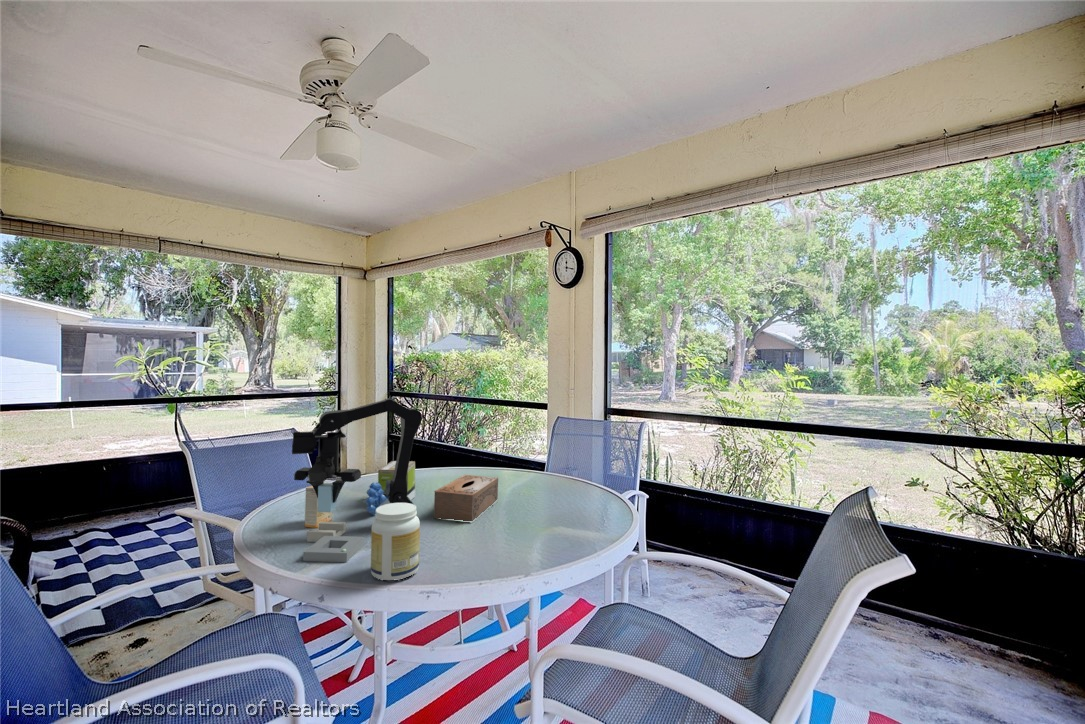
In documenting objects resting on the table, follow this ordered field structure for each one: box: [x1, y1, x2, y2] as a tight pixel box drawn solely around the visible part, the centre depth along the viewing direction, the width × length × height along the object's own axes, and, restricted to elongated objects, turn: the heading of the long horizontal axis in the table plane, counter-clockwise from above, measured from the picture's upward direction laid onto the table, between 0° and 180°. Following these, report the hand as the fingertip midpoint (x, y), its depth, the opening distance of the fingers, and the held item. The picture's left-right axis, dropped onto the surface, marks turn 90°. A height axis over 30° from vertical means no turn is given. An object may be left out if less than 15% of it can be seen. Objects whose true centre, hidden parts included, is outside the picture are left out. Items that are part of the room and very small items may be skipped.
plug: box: [318, 482, 338, 513], centre depth 147 cm, size 4×4×8 cm
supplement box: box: [304, 481, 333, 529], centre depth 159 cm, size 8×5×13 cm, turn 168°
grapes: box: [365, 482, 387, 516], centre depth 168 cm, size 12×7×12 cm, turn 178°
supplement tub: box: [370, 503, 421, 581], centre depth 124 cm, size 12×12×17 cm
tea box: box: [377, 460, 416, 506], centre depth 184 cm, size 15×10×15 cm
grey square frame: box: [306, 521, 347, 543], centre depth 147 cm, size 8×9×3 cm
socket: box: [302, 535, 365, 563], centre depth 135 cm, size 12×12×3 cm
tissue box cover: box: [433, 474, 499, 521], centre depth 177 cm, size 26×14×10 cm, turn 166°
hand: (327, 502), depth 147 cm, fingers closed on plug, 4 cm apart
